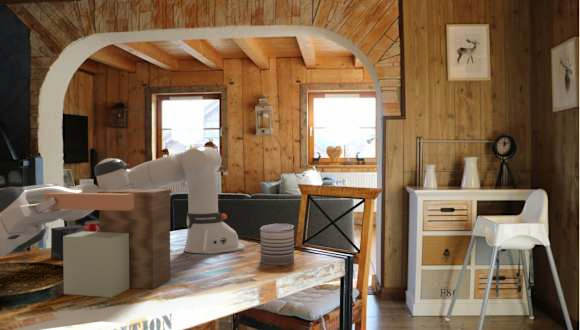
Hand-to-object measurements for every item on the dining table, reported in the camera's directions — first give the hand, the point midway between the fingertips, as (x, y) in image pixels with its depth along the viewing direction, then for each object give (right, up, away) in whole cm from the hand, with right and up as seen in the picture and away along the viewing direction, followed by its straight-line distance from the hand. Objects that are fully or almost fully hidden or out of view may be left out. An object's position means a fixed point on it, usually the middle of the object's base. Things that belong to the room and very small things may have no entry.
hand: (61, 199), depth 127 cm
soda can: (-7, -24, +38) cm, 45 cm away
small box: (-18, -24, +43) cm, 52 cm away
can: (+56, -24, +35) cm, 70 cm away
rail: (+8, -2, -2) cm, 9 cm away
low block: (+10, -24, -1) cm, 26 cm away
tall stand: (+17, -24, +8) cm, 31 cm away
